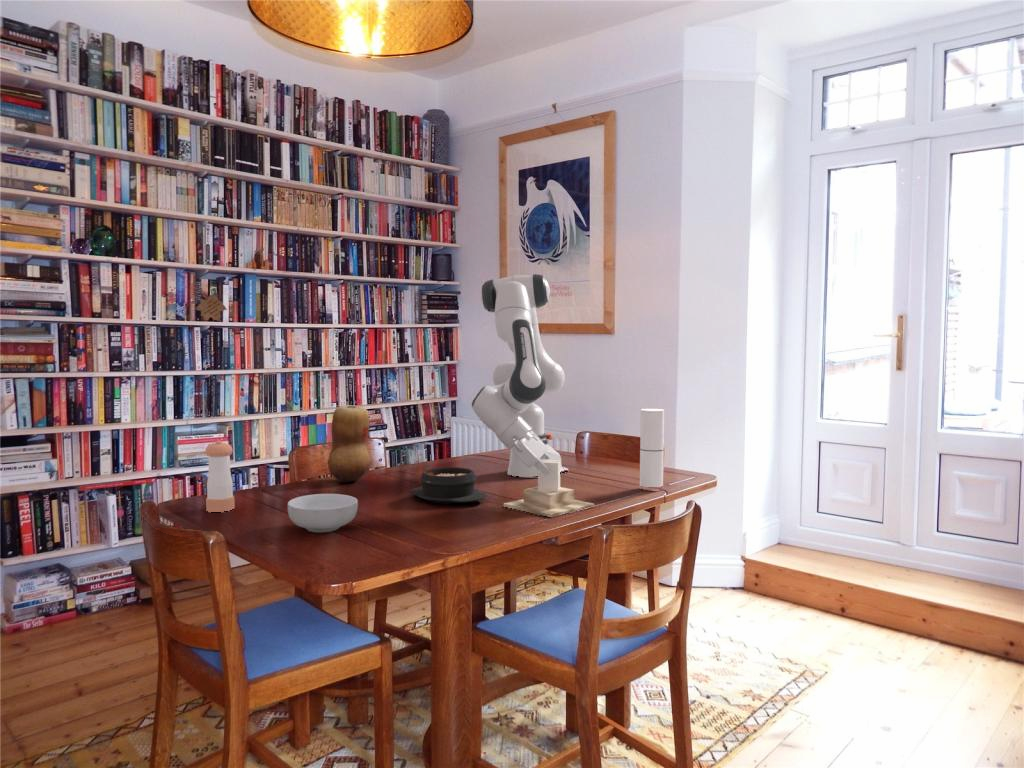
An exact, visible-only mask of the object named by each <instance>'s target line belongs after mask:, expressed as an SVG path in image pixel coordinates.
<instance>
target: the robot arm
mask: <svg viewBox="0 0 1024 768" xmlns="http://www.w3.org/2000/svg"><path fill="white" fill-rule="evenodd" d="M550 294H551V288H550V285H549V283H548V280H547V278H546V277H545V276H544V275H543V274H539V273H537V274H536V273H533V274H531V275H530V274H519V275H512V276H507V277H501V278H497V279H492V278H491V279H489V280H487V281H484V283H483V284H482V285H481V290H480V301H481V304H482V305H483V308H484V309H485V310H486V311H487V312H489V313H494V323H495V329H496V330H495V331H496V335H497V337H498V338H499V339H500V340H501V341H502V342H503V341H504V342H505V343H507V346H508V348H509V350H510V351H511V352H512V353H513V355H514V360H512V361H511V360H509V361H503V362H500V363H498V364H497V365H496V366H495V368H494V369H493V371H492V382H493V384H494V385H485V386H483V387H482V388H480V390H479V391H478V393H477V394H476V396H475V397H474V398H473V400H472V401H471V409H472V410H473V412H474V413H475V414H476V416H477V417H478V419H479V420H480V421H481V422H482V423H483V424H484V425H485V426H486V427H487V429H490V430H491V431H492V432H493V433H494V435H495V436H496V438H497V439H498V440H499V441H500V442H501V443H502V444H503V445H504V446H505V447H506V448H507V449H508V450H509V451H510V453H509V454H510V455H509V463H508V467H507V475H508V476H511V475H512V477H516V476H519V477H518V478H534V477H533V476H538V470H540V471H541V472H542V473H543V474H544V475H545V476H547V475H548V474H549V473H550V472H551V470H550V469H549V468H548V467H546V466H545V465H544V464H543V463H542V461H541V459H549V460H560V472H561V471H564V470H568V471H569V468H568V467H565V466H562V457H561V454H560V453H559V452H557V451H556V450H555V449H554V448H553V447H552V446H550V445H549V441H551V440H553V438H554V436H553V434H552V433H545V412H544V410H543V409H542V408H541V406H539V405H538V404H536V403H535V402H536V401H537V400H539V399H541V397H542V396H543V395H546V394H547V395H549V394H554V393H558V392H560V391H561V390H562V388H563V387H564V384H565V381H566V374H565V372H564V369H563V368H562V366H561V365H560V364H559V363H557V362H556V361H555V360H553V359H552V358H551V356H550V355H549V354H548V353H547V351H546V349H545V347H544V345H543V343H542V338H541V334H540V329H539V328H540V327H539V320H538V314H537V309H540V308H541V307H544V306H546V304H547V303H548V302H549V298H550ZM536 308H537V309H536ZM548 440H549V441H548Z"/></svg>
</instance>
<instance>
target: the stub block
mask: <svg viewBox="0 0 1024 768" xmlns="http://www.w3.org/2000/svg"><path fill="white" fill-rule="evenodd" d="M503 506H504V507H503ZM589 506H594V507H595V503H592V502H587V501H583V500H578V499H575V489H573V488H568V487H562V486H560V489H559V491H558V492H546V491H538V486H534V487H530V488H525V489H523V498H522V499H518V500H513V501H509V502H503V505H502V507H503V508H505V507H508V508H507V509H510V508H512V509H511V510H514V509H517V510H516V511H518V510H521V511H520V512H522V511H526V512H530V513H534V514H533V515H535V514H538V515H537V516H539V515H543V516H547V517H555V516H558V515H562V514H565V513H569V512H573V511H576V510H579V509H582V508H586V507H589ZM526 512H525V513H526ZM530 513H529V514H530ZM543 516H542V517H543ZM547 517H546V518H547ZM555 518H556V517H555Z"/></svg>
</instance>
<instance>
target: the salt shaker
mask: <svg viewBox="0 0 1024 768" xmlns="http://www.w3.org/2000/svg"><path fill="white" fill-rule="evenodd" d="M204 452H205V455H206V456H208V473H207V474H208V475H207V481H206V489H207V490H206V491H207V493H206V494H207V495H206V496H207V497H206V498H205V506H206V507H205V508H206V512H207V511H208V513H211V512H221V513H225V512H224V511H228V512H231V511H230V510H232V509H234V508H235V506H236V505H235V496H234V494H233V493H234V492H233V491H234V488H233V487H234V484H233V483H234V482H233V478H232V472H231V457H230V456H231V455H232V453H233V452H234V451H233V446H232V445H231V444H229V443H226V442H222V440H216V441H215V443H210V444H209V445H207V446H206V448H205V450H204ZM234 510H235V509H234ZM232 511H233V510H232Z"/></svg>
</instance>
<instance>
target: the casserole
mask: <svg viewBox="0 0 1024 768" xmlns="http://www.w3.org/2000/svg"><path fill="white" fill-rule="evenodd" d="M418 480H419V482H420V483H421V486H419V487H413V488H412V489H410V491H409V493H410V494H414V495H415V496H417V497H418V498H421V499H424V500H427V501H428V502H431V503H436V504H442V503H443V504H444V505H445V504H446V505H447V504H449V505H450V504H451V503H453V504H460V503H472V502H478V501H482V500H484V499H486V498H488V496H489V495H488V494H487V493H485V492H482V491H480V490H478V489H476V488H475V484H476V482H477V480H478V478H477V476H476V473H475V471H474V470H472V469H471V468H466V467H456V466H455V467H452V466H450V467H447V466H446V467H434V468H430V469H426V470H424V471H422V473H421V476H420V477H419V479H418ZM443 504H442V505H443Z"/></svg>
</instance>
